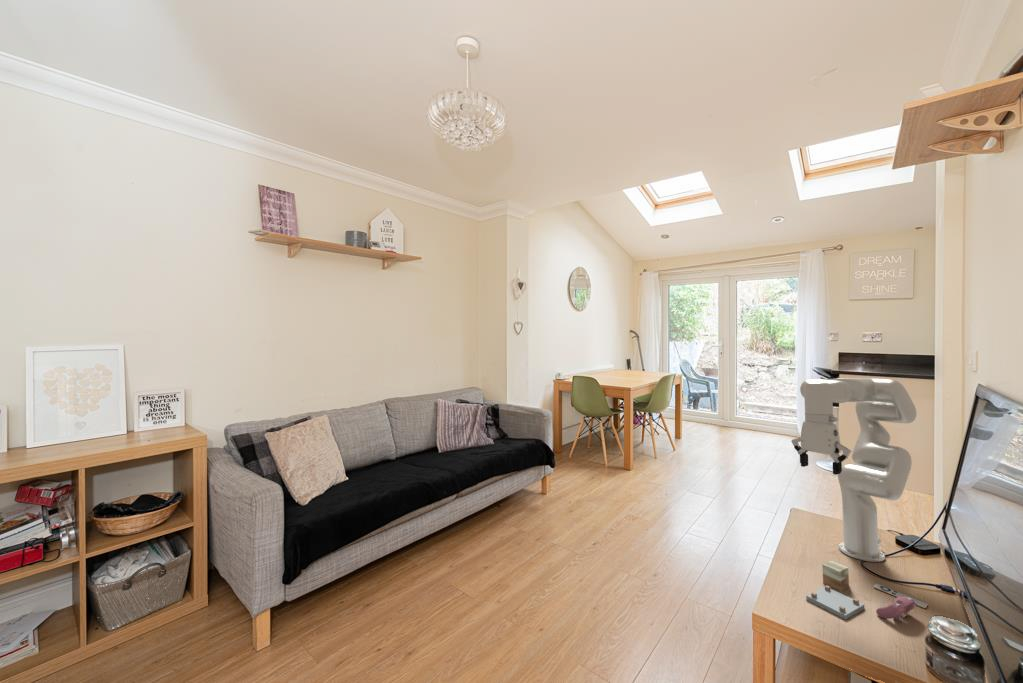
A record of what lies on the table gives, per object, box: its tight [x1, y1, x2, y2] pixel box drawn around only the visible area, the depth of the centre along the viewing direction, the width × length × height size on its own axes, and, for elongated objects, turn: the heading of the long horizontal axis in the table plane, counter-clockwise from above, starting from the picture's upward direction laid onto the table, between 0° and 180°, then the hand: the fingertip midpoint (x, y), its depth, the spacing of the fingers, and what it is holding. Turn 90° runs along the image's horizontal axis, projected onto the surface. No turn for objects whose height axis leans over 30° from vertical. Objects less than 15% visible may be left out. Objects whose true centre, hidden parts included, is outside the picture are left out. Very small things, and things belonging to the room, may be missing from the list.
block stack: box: [822, 560, 850, 592], centre depth 127 cm, size 5×5×6 cm
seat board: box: [805, 584, 866, 620], centre depth 118 cm, size 10×10×2 cm
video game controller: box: [875, 595, 918, 621], centre depth 112 cm, size 10×5×7 cm, turn 114°
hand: (820, 469), depth 134 cm, fingers open, 9 cm apart
